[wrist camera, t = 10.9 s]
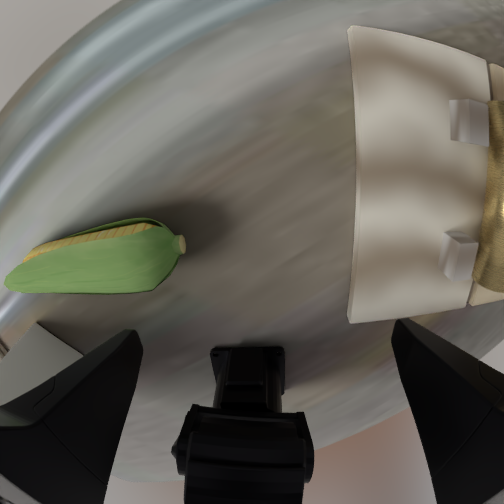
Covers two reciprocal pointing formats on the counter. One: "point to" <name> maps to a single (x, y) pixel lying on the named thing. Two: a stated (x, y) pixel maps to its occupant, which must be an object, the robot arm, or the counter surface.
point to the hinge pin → (493, 208)
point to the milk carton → (33, 362)
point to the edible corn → (101, 260)
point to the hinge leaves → (418, 174)
